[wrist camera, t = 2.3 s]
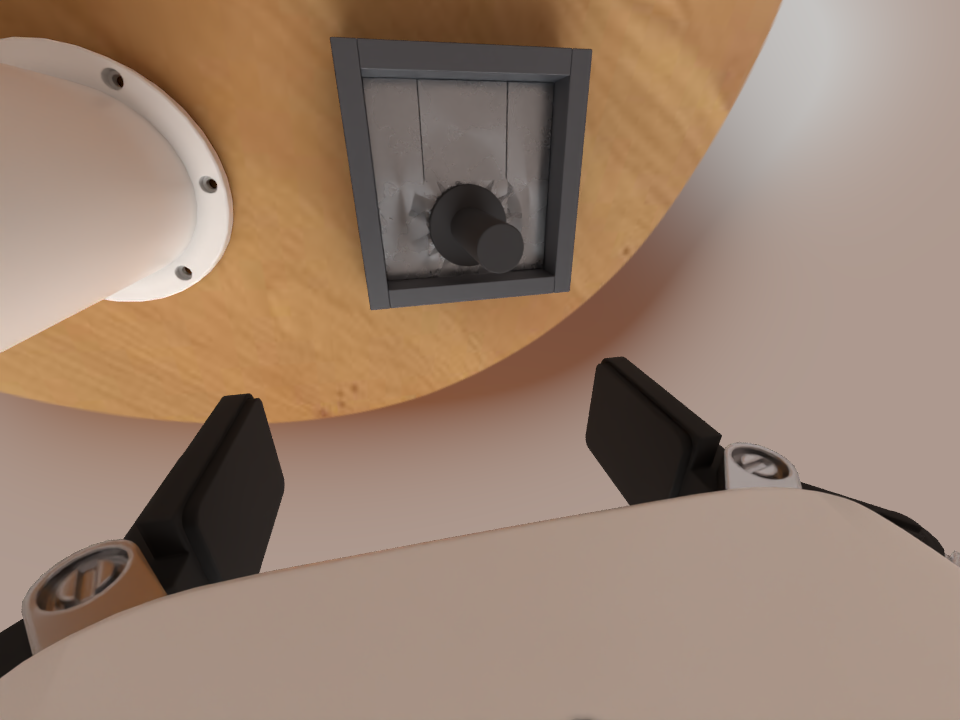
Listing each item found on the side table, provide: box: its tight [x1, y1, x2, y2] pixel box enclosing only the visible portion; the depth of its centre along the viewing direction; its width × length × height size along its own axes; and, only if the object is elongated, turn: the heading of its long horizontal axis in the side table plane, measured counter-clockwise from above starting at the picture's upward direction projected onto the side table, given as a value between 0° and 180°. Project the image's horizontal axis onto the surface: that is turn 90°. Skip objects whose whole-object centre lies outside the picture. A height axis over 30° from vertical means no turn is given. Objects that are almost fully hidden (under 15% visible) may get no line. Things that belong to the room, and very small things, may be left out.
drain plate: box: [362, 77, 555, 281], centre depth 25 cm, size 11×12×2 cm
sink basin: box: [330, 37, 592, 310], centre depth 24 cm, size 13×13×4 cm
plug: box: [429, 184, 524, 273], centre depth 23 cm, size 5×5×10 cm
